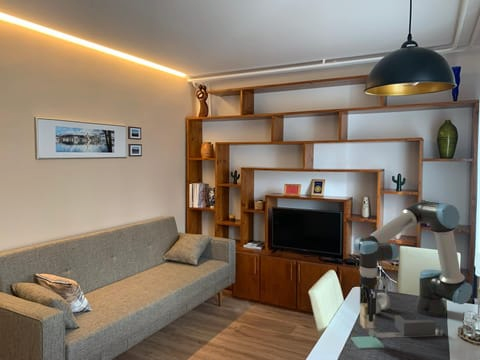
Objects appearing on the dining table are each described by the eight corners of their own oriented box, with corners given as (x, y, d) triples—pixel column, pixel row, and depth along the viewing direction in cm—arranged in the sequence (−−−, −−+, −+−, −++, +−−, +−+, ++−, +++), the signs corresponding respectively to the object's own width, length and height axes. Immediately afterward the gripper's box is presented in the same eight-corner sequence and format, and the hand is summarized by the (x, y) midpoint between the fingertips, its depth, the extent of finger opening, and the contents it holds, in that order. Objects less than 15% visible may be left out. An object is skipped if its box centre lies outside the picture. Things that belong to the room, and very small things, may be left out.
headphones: (374, 318, 201) (374, 282, 200) (359, 313, 209) (360, 277, 207) (393, 310, 212) (394, 275, 211) (379, 305, 220) (380, 271, 218)
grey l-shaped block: (425, 325, 192) (425, 314, 191) (435, 334, 183) (435, 322, 182) (394, 327, 191) (394, 315, 190) (403, 335, 182) (404, 323, 181)
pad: (375, 337, 180) (375, 336, 180) (384, 347, 171) (384, 346, 171) (350, 338, 180) (350, 337, 180) (358, 349, 170) (358, 347, 170)
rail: (437, 331, 187) (437, 326, 187) (443, 335, 182) (443, 330, 182) (368, 333, 184) (368, 328, 184) (372, 338, 180) (372, 333, 180)
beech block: (370, 323, 177) (370, 302, 177) (374, 328, 172) (375, 306, 172) (359, 323, 177) (360, 303, 176) (364, 328, 172) (364, 307, 171)
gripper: (353, 269, 182) (352, 317, 183) (368, 282, 164) (367, 334, 165) (368, 269, 182) (367, 316, 184) (385, 281, 165) (383, 333, 166)
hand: (367, 324), depth 174 cm, fingers closed on beech block, 5 cm apart
